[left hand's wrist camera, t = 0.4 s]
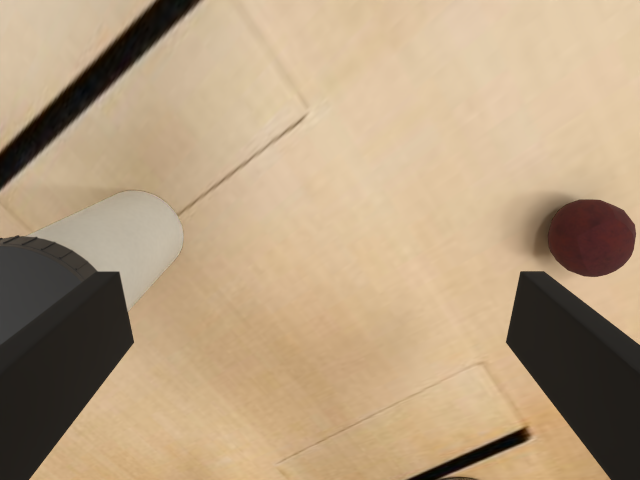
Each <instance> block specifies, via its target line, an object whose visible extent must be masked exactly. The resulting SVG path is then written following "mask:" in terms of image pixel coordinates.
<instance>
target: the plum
mask: <svg viewBox="0 0 640 480" xmlns="http://www.w3.org/2000/svg"><path fill="white" fill-rule="evenodd" d="M635 237H636V230H635V224H634V223H633V222H632V220H631V219H630V218H629V216H628V215H627V214H626V213H625V211H624V210H622V209H620V208H618V207H616V206H614V205H611V204H609V203H606V202H604V201H601V200H577V201H575V202H572V203H569V204H567V205H565V206H564V207H563V208H561V209H560V210H559V211H558V212H557V213H556V215H555V216H554V218H553V219H552V222H551V226H550V229H549V233H548V242H549V249H550V251H551V253H552V254H553V256H554V257H555V259H556V260H557V261H558V262H559V263H560V264H561V265H562V266H563V267H565V268H566V269H567V270H569V271H571V272H574V273H577V274H579V275H582V276H588V277H598V276H603V275H607V274H609V273H612V272H614V271H616V270H617V269H619V268H620V267H622V266H623V265H624V264H625V263H626V262H627V261H628V260H629V258H630V257H631V255H632V252H633V250H634V244H635Z"/></svg>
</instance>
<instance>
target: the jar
mask: <svg viewBox="0 0 640 480" xmlns="http://www.w3.org/2000/svg"><path fill="white" fill-rule="evenodd" d="M25 237H37V238H41V239H46V240H49V241H52V242H56V243H58V244H60V245H62V246H65V247H67V248H69V249H70V250H73V251H74V252H76V253H77V254H78V255H80V256H81V257H83V258H84V259H85V260H86V261H88V262H89V263H90V264H91V265H92V266H93V267H94V268H95V269H96V270H97V271H119V272H120V277H121V281H122V286H123V291H124V296H125V301H126V306H127V311H129V310H130V309H131V308H132V307H133V305H134V304H135V303H136V302H137V301H138V300H139V299H140V298H141V297H142V296H143V294H144V293H145V292H146V291H147V290H148V289H149V288H150V287H151V286H152V284H153V283H154V282H155V281H156V280H157V279H158V278H159V277H160V276H161V275H162V273H163V272H164V271H165V270H166V269H167V268H168V267H169V266H170V265H171V263H172V262H173V261H174V260H175V259H176V258H177V257H178V255H179V253H180V251H181V249H182V246H183V239H184V236H183V228H182V225H181V222H180V220H179V218H178V216H177V214H176V213H175V211H174V210H173V209H172V208H171V207H170V206H169V205H168V204H167V203H166V202H165V201H163V200H162V199H160V198H159V197H157V196H155V195H153V194H150V193H147V192H143V191H137V190H130V191H123V192H120V193H117V194H115V195H113V196H111V197H109V198H107V199H104V200H102V201H100V202H98V203H96V204H94V205H91V206H89V207H87V208H85V209H83V210H81V211H79V212H76V213H74V214H72V215H70V216H68V217H66V218H64V219H61V220H59V221H57V222H55V223H53V224H51V225H48V226H46V227H44V228H42V229H40V230H38V231H36V232H33V233H31V234H29V235H27V236H25Z"/></svg>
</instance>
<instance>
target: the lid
mask: <svg viewBox="0 0 640 480" xmlns="http://www.w3.org/2000/svg"><path fill="white" fill-rule="evenodd" d="M96 271H97V270H96V269H95V268H94V267H93V266H92V265H91V264H90V263H89V262H88V261H86V260H85V259H84V258H83V257H81V256H80V255H78V254H77V253H76V252H74V251H73V250H70V249H69V248H67V247H65V246H62V245H60V244H58V243H56V242H52V241H49V240H46V239H41V238H37V237H25V236H21V237H19V235H17V236H15V237H9V238H4V239H3V238H0V345H1V344H2V343H4V342H5V341H6V340H8V339H9V338H10V337H11V336H13V335H14V334H15V333H17V332H18V331H19V330H21V329H22V328H23V327H24V326H26V325H27V324H28V323H30V322H31V321H32V320H34V319H35V318H36V317H37V316H39V315H40V314H41V313H43V312H44V311H45V310H47V309H48V308H49V307H50V306H52V305H53V304H54V303H56V302H57V301H58V300H60V299H61V298H62V297H63V296H65V295H66V294H67V293H69V292H70V291H71V290H73V289H74V288H75V287H76V286H78V285H79V284H80V283H82V282H83V281H84V280H86V279H87V278H88V277H89V276H91V275H92V274H93V273H95V272H96Z"/></svg>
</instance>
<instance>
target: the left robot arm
mask: <svg viewBox="0 0 640 480" xmlns="http://www.w3.org/2000/svg"><path fill="white" fill-rule="evenodd" d="M133 343H134V340H133V335H132V330H131V325H130V320H129V316H128V311H127V306H126V301H125V296H124V291H123V286H122V281H121V277H120V272H119V271H96V272H95V273H93V274H92V275H91V276H89V277H88V278H87V279H86V280H84V281H83V282H82V283H80V284H79V285H78V286H76V287H75V288H74V289H73V290H71V291H70V292H69V293H67V294H66V295H65V296H63V297H62V298H61V299H60V300H58V301H57V302H56V303H54V304H53V305H52V306H50V307H49V308H48V309H47V310H45V311H44V312H43V313H41V314H40V315H39V316H37V317H36V318H35V319H34V320H32V321H31V322H30V323H28V324H27V325H26V326H24V327H23V328H22V329H21V330H19V331H18V332H17V333H15V334H14V335H13V336H11V337H10V338H9V339H8V340H6V341H5V342H4V343H2V344H1V345H0V480H29V479H30V478H31V476H32V475H33V474H34V472H35V471H36V470H37V469H38V467H39V466H40V465H41V463H42V462H43V461H44V459H45V458H46V457H47V455H48V454H49V453H50V452H51V450H52V449H53V448H54V446H55V445H56V444H57V442H58V441H59V440H60V438H61V437H62V436H63V435H64V433H65V432H66V431H67V429H68V428H69V427H70V425H71V424H72V423H73V421H74V420H75V419H76V418H77V416H78V415H79V414H80V412H81V411H82V410H83V408H84V407H85V406H86V404H87V403H88V402H89V401H90V399H91V398H92V397H93V395H94V394H95V393H96V391H97V390H98V389H99V387H100V386H101V385H102V384H103V382H104V381H105V380H106V378H107V377H108V376H109V374H110V373H111V372H112V370H113V369H114V368H115V367H116V365H117V364H118V363H119V361H120V360H121V359H122V357H123V356H124V355H125V354H126V352H127V351H128V350H129V348H130V347H131V346H132V344H133ZM506 343H507V344H508V346H509V347H510V348H511V350H512V351H513V352H514V354H515V355H516V356H517V357H518V359H519V360H520V361H521V363H522V364H523V365H524V367H525V368H526V369H527V370H528V372H529V373H530V374H531V376H532V377H533V378H534V380H535V381H536V382H537V384H538V385H539V386H540V387H541V389H542V390H543V391H544V393H545V394H546V395H547V397H548V398H549V399H550V401H551V402H552V403H553V404H554V406H555V407H556V408H557V410H558V411H559V412H560V414H561V415H562V416H563V418H564V419H565V420H566V421H567V423H568V424H569V425H570V427H571V428H572V429H573V431H574V432H575V433H576V435H577V436H578V437H579V438H580V440H581V441H582V442H583V444H584V445H585V446H586V448H587V449H588V450H589V452H590V453H591V454H592V455H593V457H594V458H595V459H596V461H597V462H598V463H599V465H600V466H601V467H602V469H603V470H604V471H605V472H606V474H607V475H608V476H609V478H610V479H611V480H640V345H639V344H638V343H636V342H635V341H634V340H632V339H631V338H630V337H629V336H627V335H626V334H625V333H623V332H622V331H621V330H619V329H618V328H617V327H616V326H614V325H613V324H612V323H610V322H609V321H608V320H606V319H605V318H604V317H603V316H601V315H600V314H599V313H597V312H596V311H595V310H593V309H592V308H591V307H590V306H588V305H587V304H586V303H584V302H583V301H582V300H580V299H579V298H578V297H577V296H575V295H574V294H573V293H571V292H570V291H569V290H567V289H566V288H565V287H564V286H562V285H561V284H560V283H558V282H557V281H556V280H554V279H553V278H552V277H551V276H549V275H548V274H547V273H545V272H544V271H521V272H520V277H519V281H518V286H517V291H516V296H515V301H514V306H513V311H512V316H511V320H510V325H509V330H508V335H507V340H506Z"/></svg>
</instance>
